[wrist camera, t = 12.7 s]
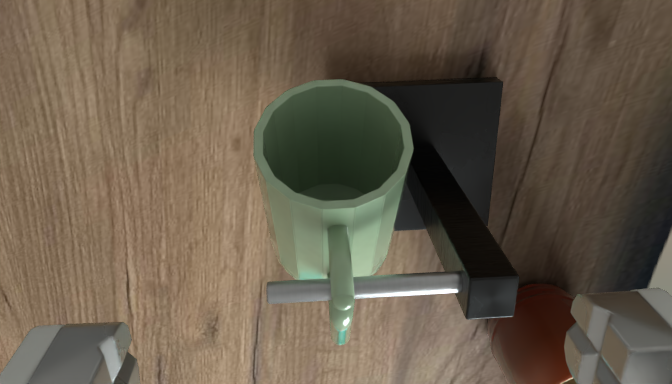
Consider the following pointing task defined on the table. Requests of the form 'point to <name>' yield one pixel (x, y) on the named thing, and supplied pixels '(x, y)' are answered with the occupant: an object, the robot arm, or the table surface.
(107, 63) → the table surface
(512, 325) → the mug
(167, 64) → the table surface
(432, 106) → the mug stand
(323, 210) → the green mug
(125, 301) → the table surface
